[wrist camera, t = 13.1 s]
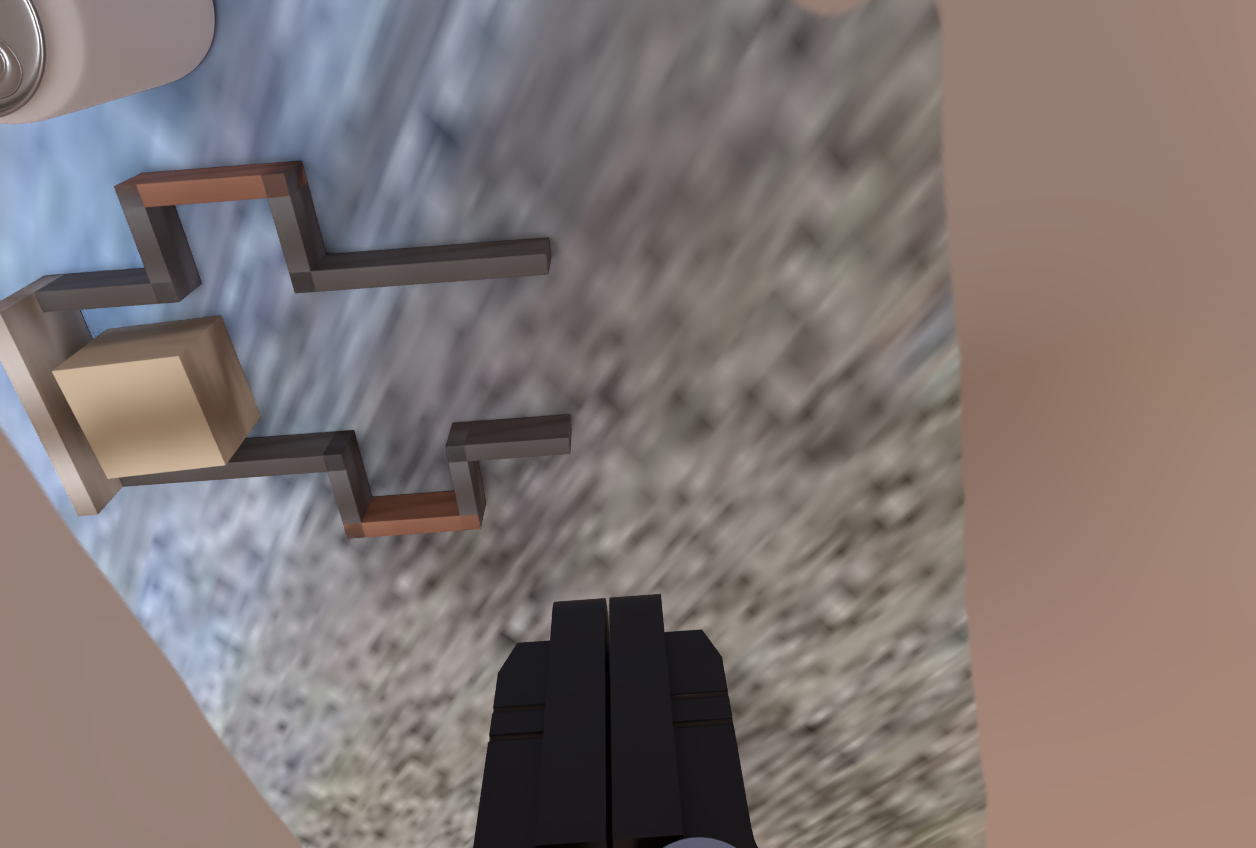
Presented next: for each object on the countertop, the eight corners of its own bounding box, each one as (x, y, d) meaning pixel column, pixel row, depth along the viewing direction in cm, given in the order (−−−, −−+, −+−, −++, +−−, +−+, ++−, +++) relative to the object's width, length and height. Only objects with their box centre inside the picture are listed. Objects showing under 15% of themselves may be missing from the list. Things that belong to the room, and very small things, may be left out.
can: (139, 109, 37) (-43, 172, 26) (22, -36, 34) (-234, -30, 23) (252, 33, 35) (106, 68, 25) (140, -125, 32) (-77, -161, 22)
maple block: (108, 328, 42) (51, 371, 38) (222, 314, 42) (178, 355, 38) (155, 428, 45) (107, 478, 41) (261, 415, 45) (225, 465, 41)
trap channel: (3, 183, 38) (-74, 213, 34) (537, 142, 38) (529, 167, 34) (156, 526, 48) (112, 583, 44) (579, 496, 48) (577, 550, 44)
